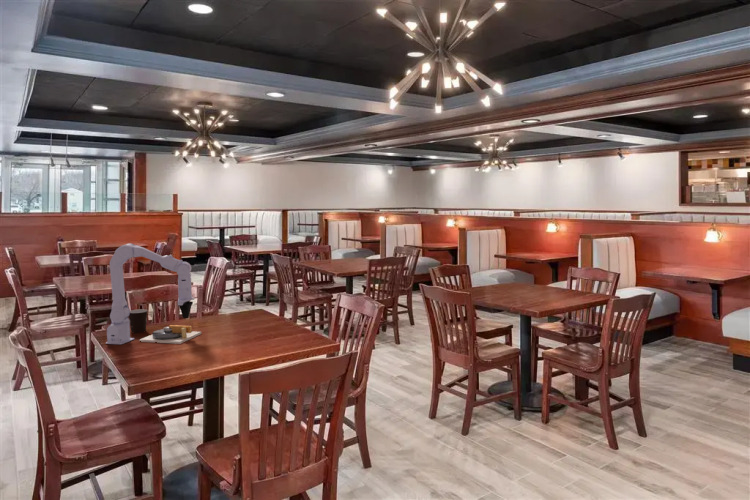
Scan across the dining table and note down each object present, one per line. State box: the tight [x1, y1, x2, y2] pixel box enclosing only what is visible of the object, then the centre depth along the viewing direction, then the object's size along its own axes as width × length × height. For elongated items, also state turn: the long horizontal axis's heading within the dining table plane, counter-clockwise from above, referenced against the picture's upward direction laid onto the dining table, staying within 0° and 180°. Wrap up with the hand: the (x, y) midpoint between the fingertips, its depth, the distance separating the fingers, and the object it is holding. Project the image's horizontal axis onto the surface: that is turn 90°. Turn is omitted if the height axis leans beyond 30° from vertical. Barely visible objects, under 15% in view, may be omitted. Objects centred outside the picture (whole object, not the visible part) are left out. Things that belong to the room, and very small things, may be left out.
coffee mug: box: [128, 308, 148, 334], centre depth 258 cm, size 12×9×10 cm
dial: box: [151, 324, 193, 339], centre depth 243 cm, size 18×14×4 cm
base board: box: [139, 328, 202, 345], centre depth 245 cm, size 18×20×6 cm
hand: (185, 317), depth 243 cm, fingers closed
